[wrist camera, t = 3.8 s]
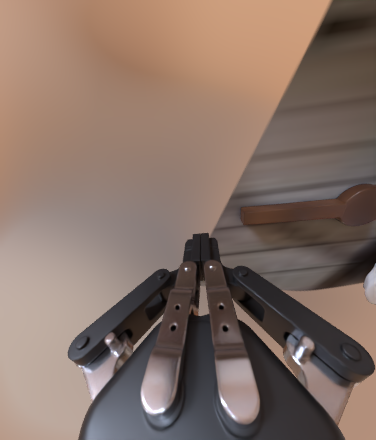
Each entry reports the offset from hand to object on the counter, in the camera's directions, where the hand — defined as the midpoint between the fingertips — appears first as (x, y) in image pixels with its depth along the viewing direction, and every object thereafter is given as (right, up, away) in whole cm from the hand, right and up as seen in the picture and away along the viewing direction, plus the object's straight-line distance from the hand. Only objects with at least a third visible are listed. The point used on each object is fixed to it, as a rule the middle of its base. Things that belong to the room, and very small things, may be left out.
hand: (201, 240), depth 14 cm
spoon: (+13, +4, +2) cm, 14 cm away
